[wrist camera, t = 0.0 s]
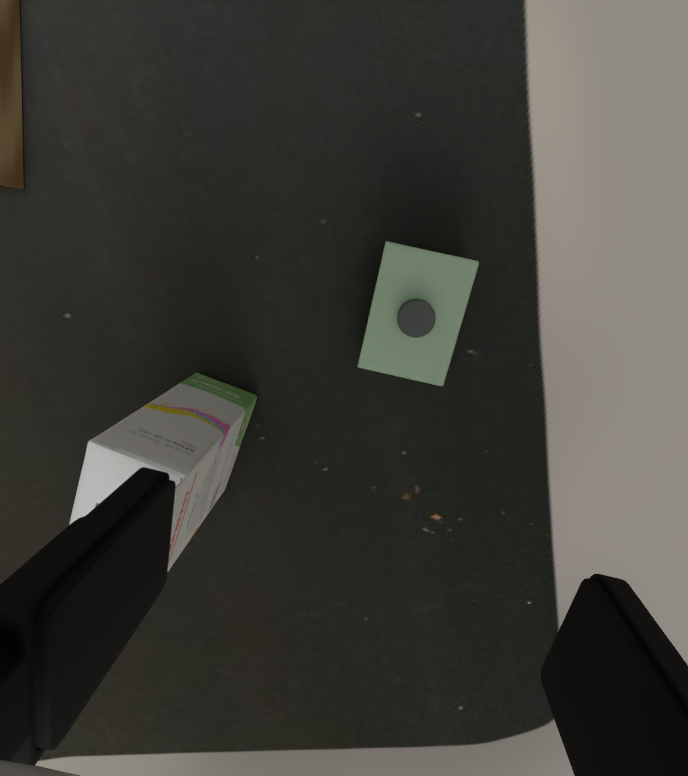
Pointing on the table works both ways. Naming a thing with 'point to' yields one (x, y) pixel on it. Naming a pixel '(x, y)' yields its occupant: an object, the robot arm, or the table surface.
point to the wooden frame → (10, 96)
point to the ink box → (172, 451)
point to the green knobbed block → (416, 313)
